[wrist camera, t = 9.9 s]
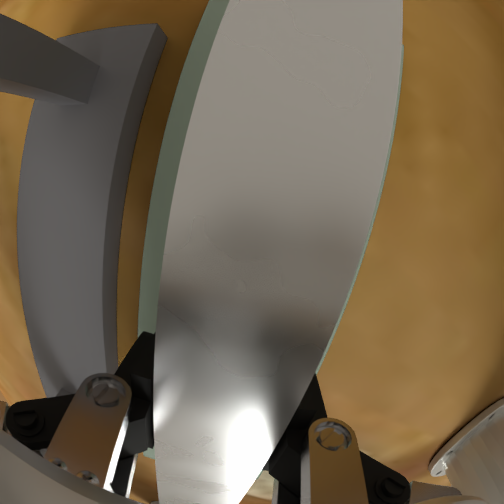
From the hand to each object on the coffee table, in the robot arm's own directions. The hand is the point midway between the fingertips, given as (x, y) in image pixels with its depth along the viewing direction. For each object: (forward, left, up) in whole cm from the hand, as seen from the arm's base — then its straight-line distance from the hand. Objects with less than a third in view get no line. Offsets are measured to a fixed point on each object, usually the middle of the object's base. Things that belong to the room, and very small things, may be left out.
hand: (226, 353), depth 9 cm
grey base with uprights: (+9, 0, -3) cm, 9 cm away
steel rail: (0, 0, +1) cm, 1 cm away
